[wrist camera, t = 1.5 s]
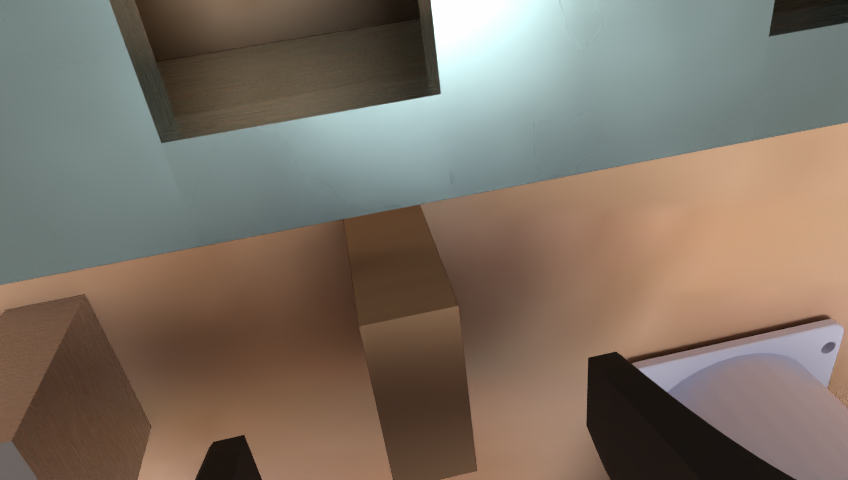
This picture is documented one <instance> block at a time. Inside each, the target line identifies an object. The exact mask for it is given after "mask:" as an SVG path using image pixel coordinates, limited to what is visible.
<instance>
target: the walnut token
mask: <svg viewBox="0 0 848 480" xmlns="http://www.w3.org/2000/svg"><path fill="white" fill-rule="evenodd" d="M344 226H345V233H346V240H347V247H348V254H349V261H350V268H351V275H352V282H353V289H354V296H355V303H356V310H357V317H358V324H359V329H360V334H361V338H362V343H363V347H364V352H365V356H366V361H367V365H368V370H369V374H370V379H371V383H372V388H373V392H374V397H375V401H376V405H377V410H378V414H379V419H380V423H381V428H382V432H383V437H384V441H385V446H386V450H387V455H388V459H389V464H390V468H391V473H392V477H393V480H440V479H444V478H448V477H453V476H457V475H461V474H466V473H470V472H474V471H477V465H476V456H475V447H474V439H473V430H472V421H471V412H470V403H469V394H468V386H467V377H466V368H465V359H464V350H463V341H462V333H461V324H460V315H459V306H458V303H457V301H456V298H455V295H454V293H453V290H452V288H451V285H450V282H449V280H448V277H447V275H446V272H445V269H444V267H443V264H442V262H441V259H440V256H439V254H438V251H437V248H436V246H435V243H434V241H433V238H432V235H431V233H430V230H429V228H428V225H427V222H426V220H425V217H424V215H423V212H422V209H421V207H420V205H414V206H409V207H404V208H399V209H393V210H388V211H383V212H378V213H373V214H367V215H362V216H357V217H352V218H347V219H344Z"/></svg>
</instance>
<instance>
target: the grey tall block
mask: <svg viewBox="0 0 848 480" xmlns="http://www.w3.org/2000/svg"><path fill="white" fill-rule="evenodd" d="M150 429H151V425H150V423H149V421H148V419H147V417H146V415H145V413H144V411H143V409H142V407H141V405H140V403H139V401H138V399H137V397H136V395H135V393H134V391H133V389H132V387H131V385H130V383H129V381H128V379H127V377H126V375H125V373H124V371H123V369H122V367H121V365H120V363H119V361H118V359H117V357H116V355H115V353H114V351H113V349H112V347H111V345H110V343H109V341H108V339H107V337H106V335H105V333H104V331H103V329H102V327H101V325H100V323H99V321H98V319H97V317H96V315H95V313H94V311H93V309H92V308H91V306H90V304H89V302H88V300H87V298H86V296H85V294H84V295H79V296H74V297H69V298H64V299H59V300H54V301H48V302H43V303H38V304H33V305H28V306H23V307H18V308H13V309H8V310H5V311H4V313H3V314H2V316H1V317H0V480H138V476H139V472H140V468H141V464H142V460H143V456H144V453H145V449H146V445H147V441H148V437H149V433H150Z"/></svg>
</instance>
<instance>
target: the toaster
mask: <svg viewBox="0 0 848 480" xmlns="http://www.w3.org/2000/svg"><path fill="white" fill-rule="evenodd" d="M418 3H419V12H420V19H415V20H409V21H403V22H397V23H391V24H384V25H378V26H372V27H366V28H360V29H354V30H348V31H342V32H335V33H329V34H323V35H317V36H311V37H305V38H299V39H293V40H287V41H280V42H274V43H268V44H262V45H256V46H250V47H244V48H238V49H232V50H225V51H219V52H213V53H207V54H201V55H195V56H189V57H183V58H177V59H170V60H164V61H158V62H156V60H155V57H154V54H153V52H152V49H151V46H150V43H149V40H148V37H147V34H146V31H145V28H144V25H143V23H142V20H141V17H140V14H139V11H138V8H137V5H136V2H135V0H0V285H2V284H8V283H13V282H18V281H23V280H28V279H34V278H39V277H44V276H49V275H54V274H60V273H65V272H70V271H75V270H81V269H86V268H91V267H96V266H101V265H107V264H112V263H117V262H122V261H127V260H133V259H138V258H143V257H148V256H154V255H159V254H164V253H169V252H174V251H180V250H185V249H190V248H195V247H200V246H206V245H211V244H216V243H221V242H227V241H232V240H237V239H242V238H247V237H253V236H258V235H263V234H268V233H273V232H279V231H284V230H289V229H294V228H300V227H305V226H310V225H315V224H320V223H326V222H331V221H336V220H341V219H347V218H352V217H357V216H362V215H367V214H373V213H378V212H383V211H388V210H393V209H399V208H404V207H409V206H414V205H420V204H425V203H430V202H435V201H440V200H446V199H451V198H456V197H461V196H466V195H472V194H477V193H482V192H487V191H493V190H498V189H503V188H508V187H513V186H519V185H524V184H529V183H534V182H539V181H545V180H550V179H555V178H560V177H566V176H571V175H576V174H581V173H586V172H592V171H597V170H602V169H607V168H612V167H618V166H623V165H628V164H633V163H639V162H644V161H649V160H654V159H659V158H665V157H670V156H675V155H680V154H686V153H691V152H696V151H701V150H706V149H712V148H717V147H722V146H727V145H732V144H738V143H743V142H748V141H753V140H759V139H764V138H769V137H774V136H779V135H785V134H790V133H795V132H800V131H805V130H811V129H816V128H821V127H826V126H832V125H837V124H842V123H847V122H848V0H418Z"/></svg>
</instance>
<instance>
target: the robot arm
mask: <svg viewBox="0 0 848 480" xmlns="http://www.w3.org/2000/svg"><path fill="white" fill-rule="evenodd" d="M843 334H844V328H843V326H842V325H841V324H839V323H838V322H837V321H836V320H833V319H827V320H822V321H818V322H813V323H809V324H804V325H800V326H795V327H791V328H786V329H782V330H777V331H773V332H768V333H764V334H759V335H755V336H750V337H746V338H741V339H737V340H732V341H728V342H723V343H719V344H714V345H710V346H705V347H701V348H696V349H692V350H688V351H683V352H679V353H674V354H670V355H665V356H661V357H656V358H652V359H647V360H643V361H638V362H634V363H632V364H631V363H630V362H629V361H628V360H626V359H625V358H624V357H623V356H621V355H620V354H619V353H617V352H612V353H608V354H604V355H599V356H595V357H590V358H588V391H587V428H588V430H589V433H590V435H591V437H592V440H593V442H594V445H595V447H596V449H597V452H598V454H599V456H600V459H601V461H602V463H603V465H604V468H605V470H606V472H607V474H608V475H609V477H610V479H611V480H848V408H847V407H846V406H845V405H844V404H843V403H842V402H841V401H840V400H838V399H837V398H836V397H835V396H834V395H833V394H832V393H831V392H830V391H829V390H828V389H827V387H828V384H829V381H830V377H831V374H832V371H833V367H834V364H835V361H836V357H837V354H838V351H839V348H840V344H841V341H842V338H843ZM195 480H262V479H261V476H260V474H259V471H258V469H257V466H256V464H255V461H254V459H253V456H252V453H251V451H250V448H249V446H248V443H247V441H246V438H245V436H244V435H242V436H238V437H233V438H229V439H224V440H220V441H216V442H213V443H212V445H211V446H210V447H209V449H208V452H207V454H206V456H205V459H204V461H203V463H202V465H201V468H200V470H199V472H198V474H197V477H196V479H195Z"/></svg>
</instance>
